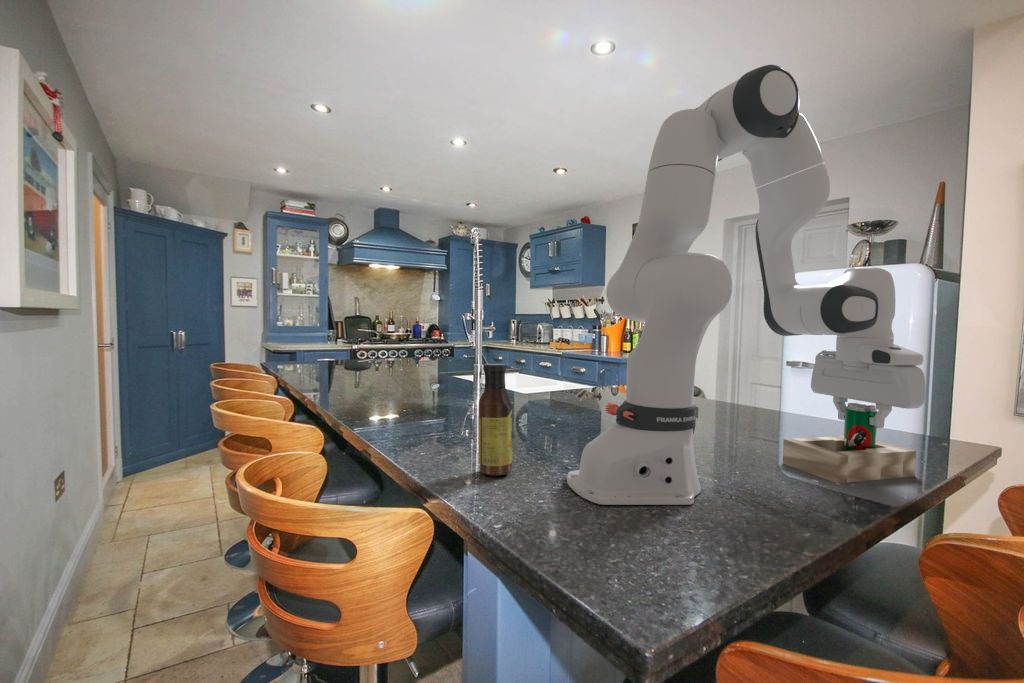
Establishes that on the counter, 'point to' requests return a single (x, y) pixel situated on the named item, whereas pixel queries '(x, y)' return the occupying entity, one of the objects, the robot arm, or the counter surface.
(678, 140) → the robot arm
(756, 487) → the counter surface
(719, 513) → the counter surface
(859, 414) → the soda can
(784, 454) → the keyhole board
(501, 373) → the sauce bottle
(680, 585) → the counter surface
